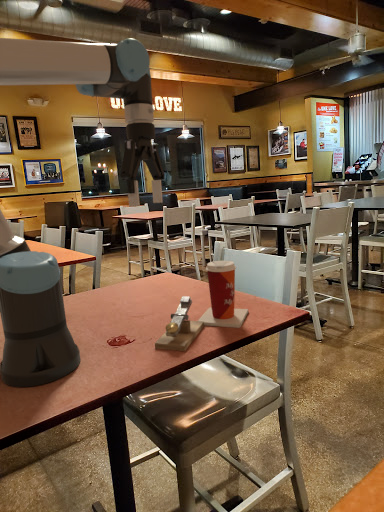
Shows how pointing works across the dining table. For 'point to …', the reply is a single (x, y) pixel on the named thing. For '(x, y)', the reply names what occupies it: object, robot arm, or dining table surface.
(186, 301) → the lever
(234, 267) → the paper cup
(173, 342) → the lever base
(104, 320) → the dining table surface
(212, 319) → the tile
